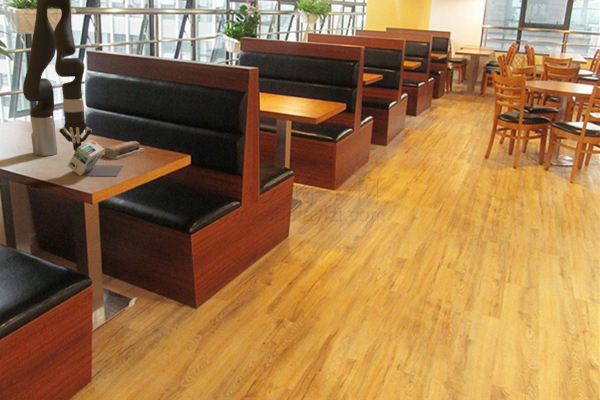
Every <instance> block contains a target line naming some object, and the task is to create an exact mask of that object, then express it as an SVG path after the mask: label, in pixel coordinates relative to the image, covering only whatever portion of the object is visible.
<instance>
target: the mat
mask: <svg viewBox="0 0 600 400" xmlns="http://www.w3.org/2000/svg"><path fill="white" fill-rule="evenodd" d="M123 168H124V165H118V164H117V165H109V164H107V165H105V164H95V166H94V168H92V169H91V170H89V171H87V174H86V175H85V176H86V177H118V176H119V173H120V172H121V171H122V170H123Z"/></svg>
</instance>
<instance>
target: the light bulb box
mask: <svg viewBox="0 0 600 400" xmlns="http://www.w3.org/2000/svg"><path fill="white" fill-rule="evenodd" d="M104 152H105V148H103V147H102V146H101V145H100V144H99V143H98V142H96V141H95V140H94V139H91V140H88V141H86V142H85V143H83V144H81V146H79V147H78V149H77V150H76V152H75V151H74V154H73V155H72V157H71V159H70V161H69V162H68V164H67V167H68V168H70V169H71V170H73V172H75V173H76V174H77V175H78V176H82V175H83V174H85V173H88V172H89V171H90V170H91V169H92V168H94V166H95V165H97V163H98V161H99V159H100V158H101V156H102V154H104Z"/></svg>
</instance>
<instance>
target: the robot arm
mask: <svg viewBox="0 0 600 400" xmlns="http://www.w3.org/2000/svg"><path fill="white" fill-rule="evenodd" d="M71 5H72V3H71V0H36V12H35V13H36V14H35V22H34V26H33V28H34V30H33V34H32V39H31V40H32V41H31V47H30V53H29V59H28V60H29V61H28V65H27V70H26V73H25V78H24V81H23V86H22V92H23V95H24V98H25V99H26V101H28V102H32V103H33V102H37V103H36V104H35V106H33V107H32V108H31V109H30V122H31V130H32V133H31V134H30V136H31V144H32V145H31V146H32V152H33V155H35V156H41V157H47V156H54V155H56V154H58V143H57V136H56V135H57V134H56V127H55V116H54V110H55V98H54V97H55V94H54V93H55V92H54V87H53V84H52V82H51V81H50V80H49V79H47V78H46V77H44V78H42V76H43V73H44V72H45V70H46V68H47V67H48V66H49V65H50V63H51V62H52V61H53V59H54V58H55V57H56V58H55V63H54V72H55V73H56V75H57V76H59V77H61V78H66V77H67V78H70V77H71V78H72V77H74V78H73V80H72V81H69V82H64V83H63V84H62V85H61V87H62V88H61V89H62V90H61V91H62V100H63V101H62V105H63V115H64V125H63V127H61V128H60V129H58V130H59V131H58V132H59V133H60V134H61V135H62V136H63V138H65V139H66V141H68V142H71V143H72V147H73V148H72V149H73V151H74V153H75V152H76V150H77V149H78V147H79V146H81V145H82V143H84V142H85V141H86V140H87V138H88V137H89V136H90V135H91V133H92V132H93V128H89V127H88V126H87V124H86V117H85V116H86V115H85V106H84V101H83V100H84V99H83V91H82V90H83V89H82V82H83V78H84V73H85V63H84V62H83V60H82V59H81V58H78V57H70V56H73V55H74V54H75V53H76V51H77V49H76V45H75V43H76V42H75V39H74V35H73V28H72V27H73V25H72V24H73V22H72V7H71ZM49 8H54V9H58V10H60V13H61V16H60V19H59V21H58V23H57V24H56V26H55V28H54V29H53V26H52V24H51V23H50V20H49V16H48V9H49ZM55 55H56V56H55ZM83 133H84V135H83ZM82 135H83V136H82Z"/></svg>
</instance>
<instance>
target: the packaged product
mask: <svg viewBox="0 0 600 400" xmlns="http://www.w3.org/2000/svg"><path fill="white" fill-rule="evenodd" d="M140 145H141V144H140V142H138V141H136V140H134V141H127V142H123V143H119V144H115V145H111V146H107V147H105V148H104V151H103V153H102V155H101V156H102V157H105V158H109V159H113V160H121V159H124V158H127V156H128V157H130V155H131V156H134V155H137V154H139V153H140V154H141V153H143V152H145V151H146V148H143V147H141V146H140Z"/></svg>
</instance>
